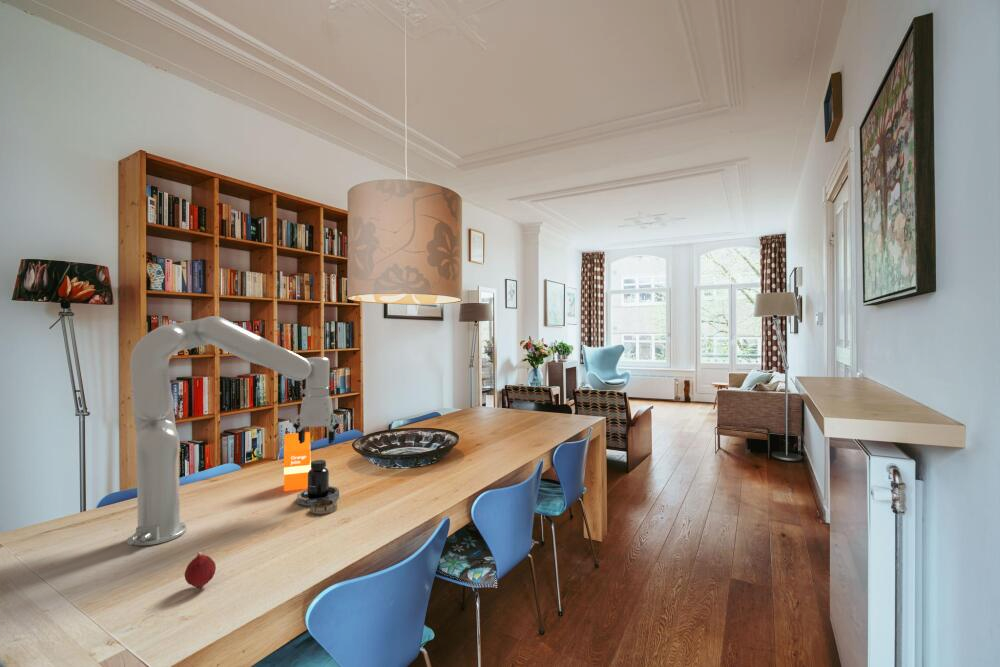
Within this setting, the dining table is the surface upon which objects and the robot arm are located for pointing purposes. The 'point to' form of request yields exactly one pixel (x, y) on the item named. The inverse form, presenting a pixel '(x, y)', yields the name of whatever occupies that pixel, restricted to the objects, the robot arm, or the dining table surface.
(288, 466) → the orange juice
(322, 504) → the narrow flange
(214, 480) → the dining table surface
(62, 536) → the dining table surface
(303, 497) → the wide flange
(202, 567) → the onion
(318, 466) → the supplement bottle
